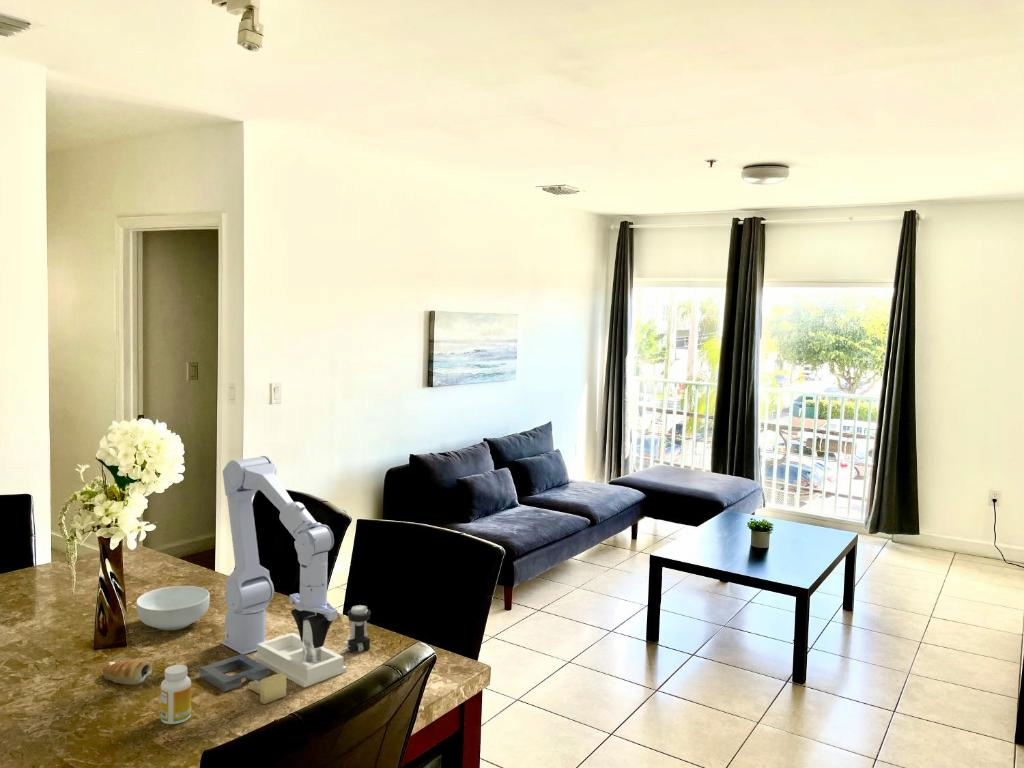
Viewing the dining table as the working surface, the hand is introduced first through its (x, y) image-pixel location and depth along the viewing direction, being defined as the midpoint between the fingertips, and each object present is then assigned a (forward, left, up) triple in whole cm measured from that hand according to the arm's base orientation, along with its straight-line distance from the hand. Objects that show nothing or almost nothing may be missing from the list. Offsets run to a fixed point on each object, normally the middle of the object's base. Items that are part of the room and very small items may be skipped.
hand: (312, 643), depth 176 cm
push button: (-2, +14, -7) cm, 16 cm away
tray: (-4, 0, -6) cm, 8 cm away
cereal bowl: (-45, -8, -7) cm, 47 cm away
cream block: (+2, -13, -6) cm, 14 cm away
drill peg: (0, 0, -3) cm, 3 cm away
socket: (-9, -13, -6) cm, 17 cm away
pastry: (-24, -29, -7) cm, 38 cm away
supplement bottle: (-1, -30, -7) cm, 31 cm away
